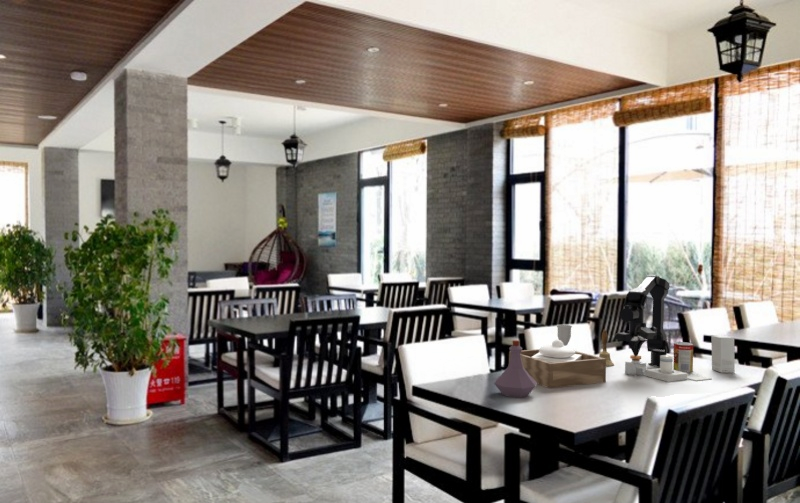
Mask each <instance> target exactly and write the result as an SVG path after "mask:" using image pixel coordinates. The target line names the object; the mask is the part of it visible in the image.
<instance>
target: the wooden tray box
mask: <svg viewBox="0 0 800 503" xmlns="http://www.w3.org/2000/svg"><path fill="white" fill-rule="evenodd" d="M539 349H540V348H538V349H537V348H536V349H527V350H526V349H524V350H523V349H522V350H521V359H522V363H523V367H524V368H525V370H526V371H527V372H528V374H529V375H530V376H531V377H532V378H533V379H534V380H535V381H536V382H537V384H536V385H539V386H543V387H546V388H548V389H554V388H563V387H572V386H580V385H581V386H582V385H583V386H584V385H589V384H601V383H606V380H607V366H606V359H605V358H601V357H599V356H596V355H594V354H588V353H584V352H581V351H577V350H575V352H576V353H575V354H580V355H582V357H581V360H577V361H566V362H555V363H550V362H546V361H543V360H539V359H536V358H533V357H532V356H534V355H535V354H537V353H539ZM510 357H511V351H510V350H509V351H508V362H509V361H510Z"/></svg>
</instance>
